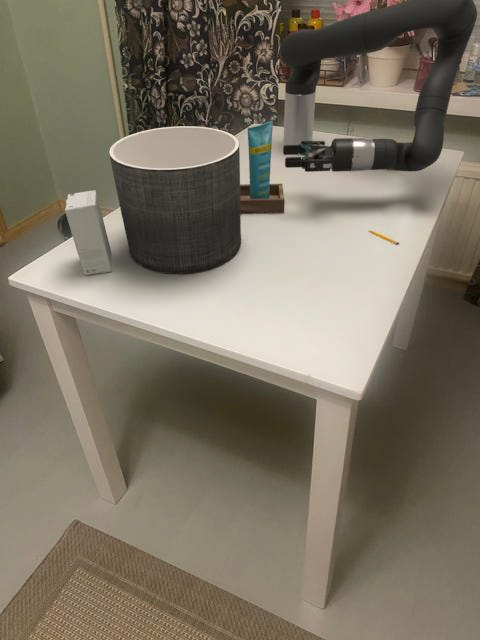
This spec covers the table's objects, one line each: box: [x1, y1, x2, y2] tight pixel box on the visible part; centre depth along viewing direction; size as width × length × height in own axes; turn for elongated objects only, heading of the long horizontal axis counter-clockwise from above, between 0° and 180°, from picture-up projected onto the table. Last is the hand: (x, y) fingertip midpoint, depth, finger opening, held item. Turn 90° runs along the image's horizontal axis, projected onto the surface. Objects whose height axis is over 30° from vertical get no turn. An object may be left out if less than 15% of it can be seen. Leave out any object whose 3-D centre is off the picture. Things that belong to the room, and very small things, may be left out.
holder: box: [240, 183, 285, 215], centre depth 120 cm, size 10×12×4 cm
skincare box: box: [64, 189, 113, 276], centre depth 96 cm, size 8×6×15 cm
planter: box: [108, 125, 242, 275], centre depth 99 cm, size 25×25×22 cm
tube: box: [247, 120, 274, 199], centre depth 115 cm, size 7×5×19 cm, turn 133°
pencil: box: [368, 230, 400, 246], centre depth 107 cm, size 1×9×1 cm, turn 38°
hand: (284, 156), depth 113 cm, fingers open, 8 cm apart
